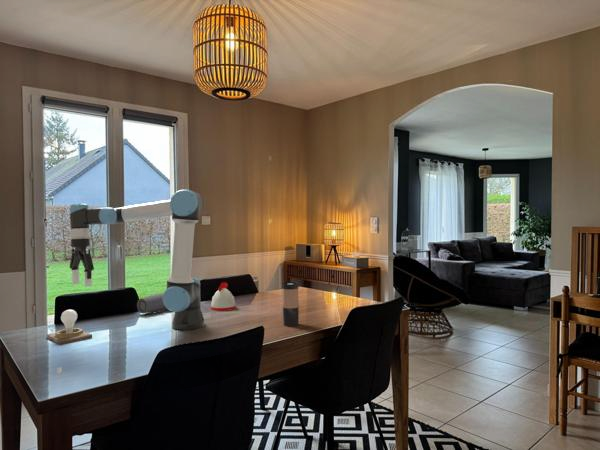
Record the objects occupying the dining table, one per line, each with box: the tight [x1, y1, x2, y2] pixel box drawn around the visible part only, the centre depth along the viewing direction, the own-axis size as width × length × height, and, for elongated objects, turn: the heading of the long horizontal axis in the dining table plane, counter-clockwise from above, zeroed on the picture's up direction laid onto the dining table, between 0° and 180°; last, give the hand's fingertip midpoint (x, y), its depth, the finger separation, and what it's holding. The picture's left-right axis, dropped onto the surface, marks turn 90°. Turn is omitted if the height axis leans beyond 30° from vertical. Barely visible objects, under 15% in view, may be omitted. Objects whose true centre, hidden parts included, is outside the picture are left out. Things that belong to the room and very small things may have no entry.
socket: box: [46, 327, 93, 346], centre depth 186 cm, size 16×13×3 cm
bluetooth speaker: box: [136, 292, 169, 314], centre depth 239 cm, size 23×9×10 cm, turn 148°
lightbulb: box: [60, 308, 78, 333], centre depth 186 cm, size 6×6×11 cm
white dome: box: [210, 281, 236, 312], centre depth 244 cm, size 14×14×15 cm
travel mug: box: [282, 281, 300, 327], centre depth 204 cm, size 8×8×20 cm
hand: (82, 285), depth 192 cm, fingers open, 13 cm apart
